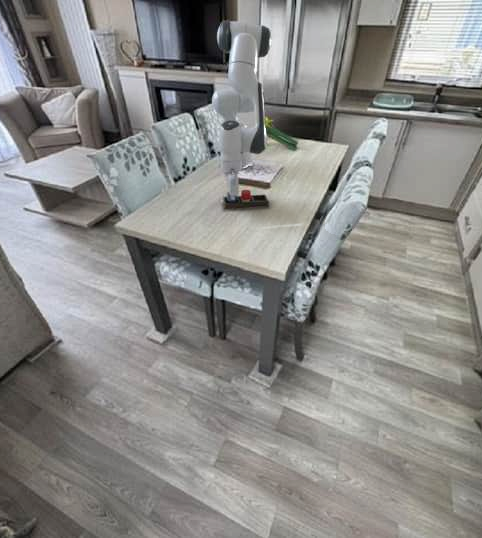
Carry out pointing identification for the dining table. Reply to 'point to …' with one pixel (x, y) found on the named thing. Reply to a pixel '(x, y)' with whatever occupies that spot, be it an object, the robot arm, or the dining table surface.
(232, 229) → the dining table surface
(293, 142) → the daffodil flowers
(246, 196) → the red token
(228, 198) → the slate token
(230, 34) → the robot arm
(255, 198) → the token board
